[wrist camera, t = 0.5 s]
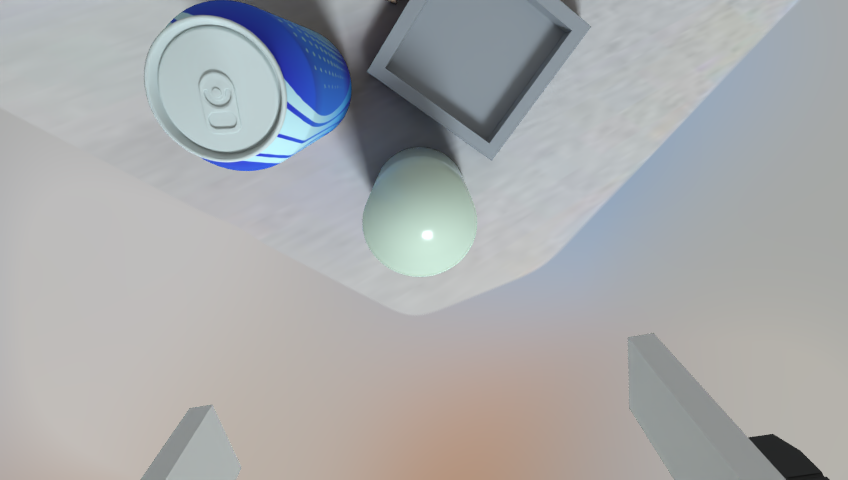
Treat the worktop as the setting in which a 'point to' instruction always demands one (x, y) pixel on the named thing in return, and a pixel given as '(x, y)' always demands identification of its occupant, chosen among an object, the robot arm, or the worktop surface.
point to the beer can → (244, 85)
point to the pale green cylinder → (419, 214)
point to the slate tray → (477, 61)
